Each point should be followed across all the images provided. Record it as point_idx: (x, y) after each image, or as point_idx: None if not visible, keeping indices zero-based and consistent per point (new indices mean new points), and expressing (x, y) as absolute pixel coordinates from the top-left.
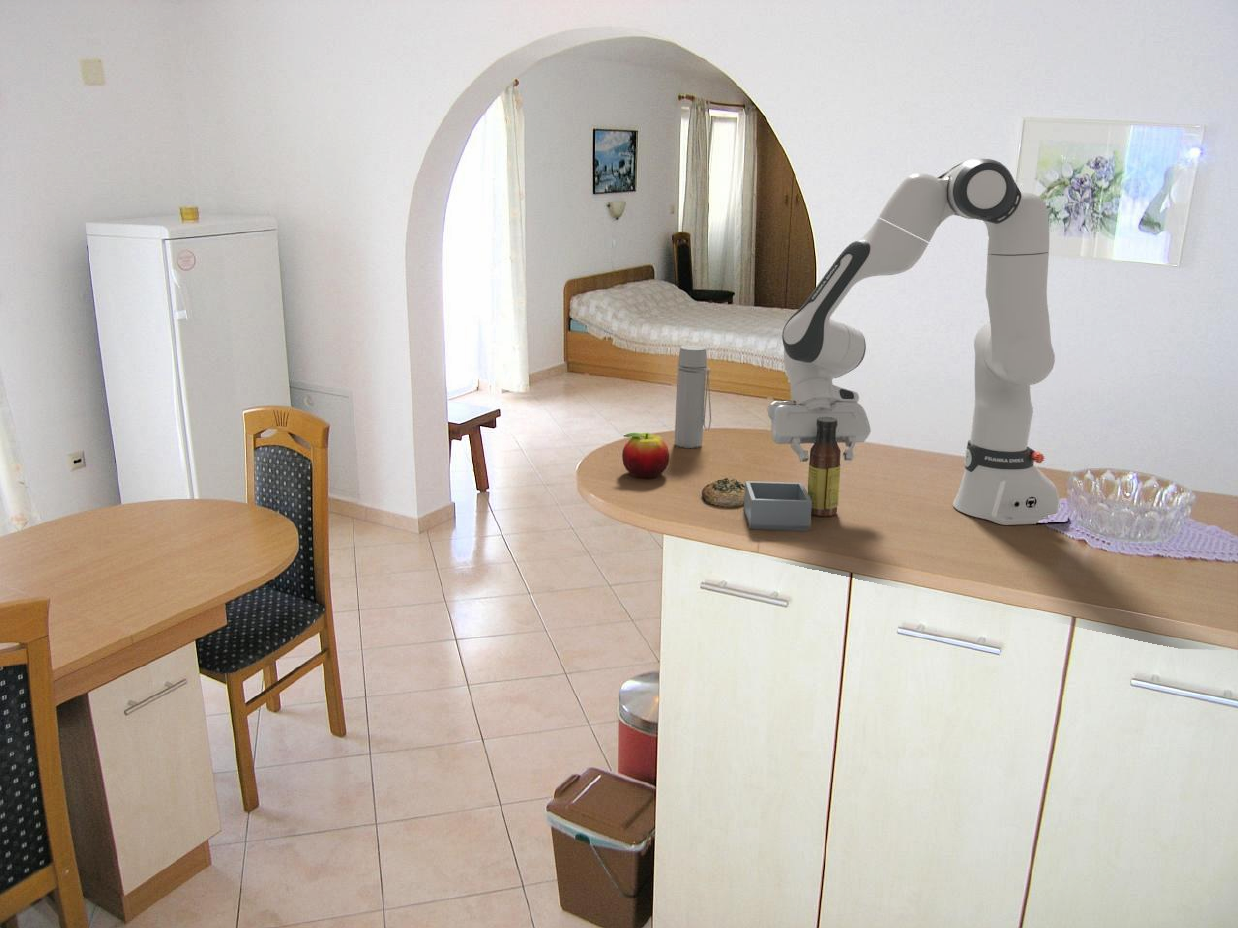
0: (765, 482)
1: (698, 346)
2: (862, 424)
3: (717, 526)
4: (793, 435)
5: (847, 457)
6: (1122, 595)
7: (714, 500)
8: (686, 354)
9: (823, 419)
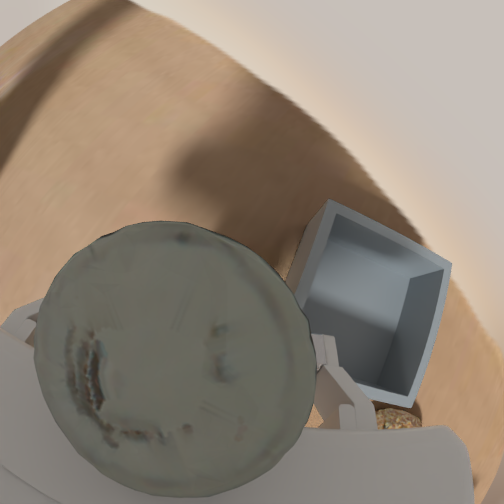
0: (372, 392)
1: None
2: None
3: (450, 304)
4: (392, 431)
5: None
6: (89, 11)
7: (418, 420)
8: None
9: (233, 376)
